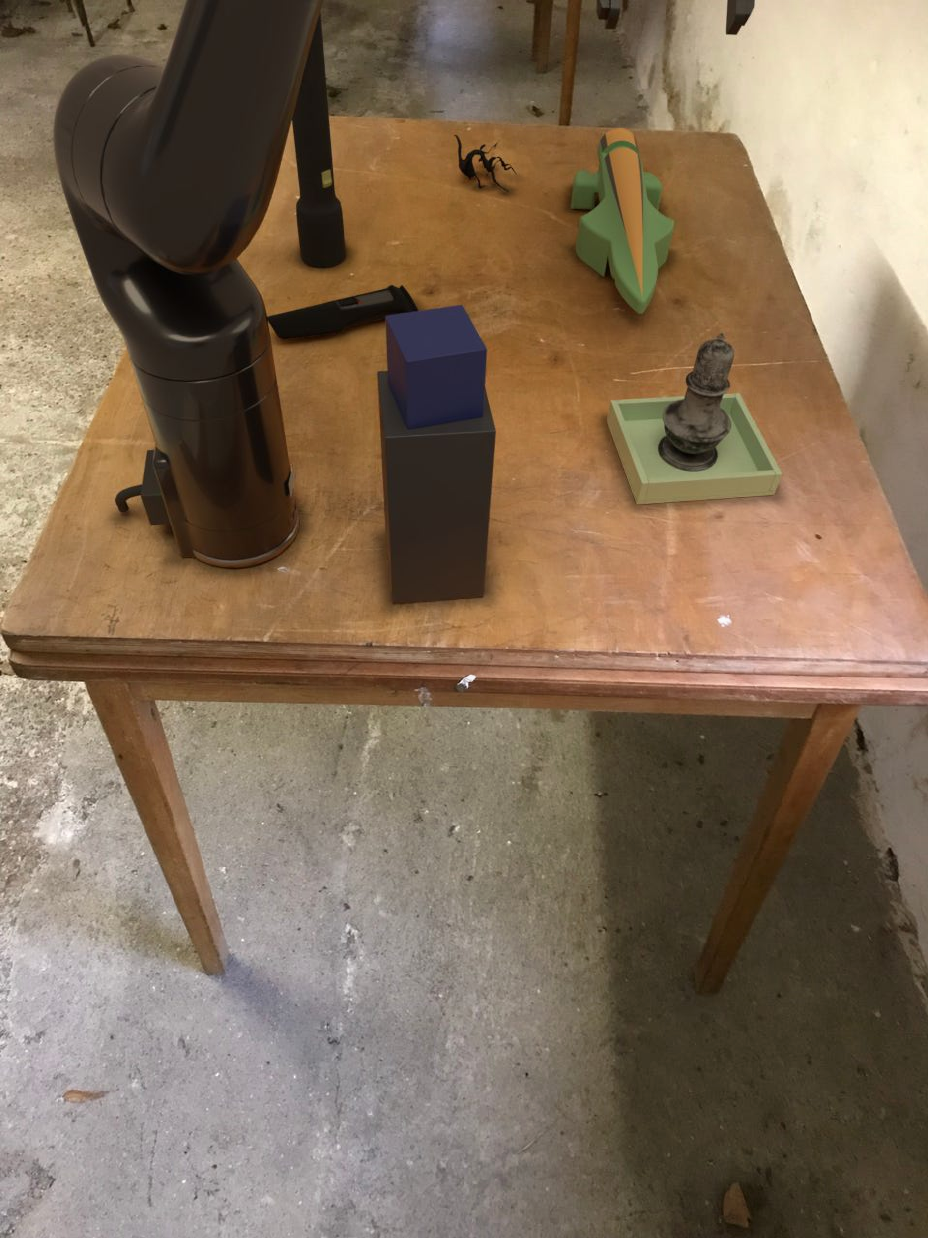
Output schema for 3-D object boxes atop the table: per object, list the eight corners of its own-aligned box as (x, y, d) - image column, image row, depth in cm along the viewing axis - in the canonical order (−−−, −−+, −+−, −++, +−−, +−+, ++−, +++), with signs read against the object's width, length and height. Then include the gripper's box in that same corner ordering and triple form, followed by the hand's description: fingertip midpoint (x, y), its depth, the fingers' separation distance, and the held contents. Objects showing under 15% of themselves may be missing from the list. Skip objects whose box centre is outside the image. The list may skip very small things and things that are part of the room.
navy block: (407, 430, 56) (406, 361, 52) (387, 383, 59) (385, 315, 55) (483, 416, 57) (487, 348, 53) (459, 371, 60) (462, 304, 56)
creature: (501, 173, 117) (444, 165, 114) (512, 129, 113) (454, 120, 110) (522, 200, 112) (463, 193, 109) (535, 156, 108) (474, 148, 105)
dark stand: (392, 604, 68) (385, 437, 56) (385, 538, 72) (377, 370, 60) (483, 597, 69) (496, 430, 56) (471, 532, 73) (480, 365, 61)
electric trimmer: (265, 334, 90) (260, 305, 88) (407, 301, 95) (406, 273, 92) (276, 354, 88) (271, 326, 86) (421, 319, 92) (421, 291, 90)
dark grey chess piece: (725, 475, 78) (766, 356, 69) (658, 472, 78) (690, 353, 69) (715, 431, 82) (752, 313, 72) (651, 429, 82) (680, 310, 72)
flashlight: (291, 255, 100) (320, 272, 98) (260, 3, 81) (295, 17, 79) (326, 240, 102) (355, 256, 100) (303, -9, 83) (338, 5, 81)
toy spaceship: (686, 337, 92) (703, 271, 86) (584, 333, 92) (594, 266, 86) (652, 191, 112) (664, 129, 107) (568, 187, 112) (576, 125, 106)
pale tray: (636, 504, 76) (642, 483, 74) (606, 421, 83) (610, 399, 81) (774, 495, 77) (782, 473, 75) (732, 413, 84) (739, 392, 82)
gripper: (589, -285, 56) (579, -11, 58) (813, -275, 57) (797, -2, 58) (573, -190, 64) (564, 51, 65) (771, -181, 64) (757, 58, 66)
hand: (674, 25), depth 62 cm, fingers open, 8 cm apart
